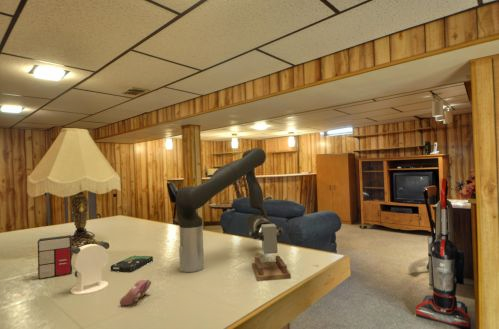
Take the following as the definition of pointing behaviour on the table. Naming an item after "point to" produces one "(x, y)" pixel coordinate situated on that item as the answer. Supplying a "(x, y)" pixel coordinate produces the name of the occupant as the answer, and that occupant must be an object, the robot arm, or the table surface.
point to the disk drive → (131, 263)
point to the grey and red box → (54, 256)
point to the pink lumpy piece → (135, 292)
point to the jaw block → (269, 238)
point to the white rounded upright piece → (89, 267)
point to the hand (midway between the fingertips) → (270, 237)
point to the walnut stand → (270, 270)
